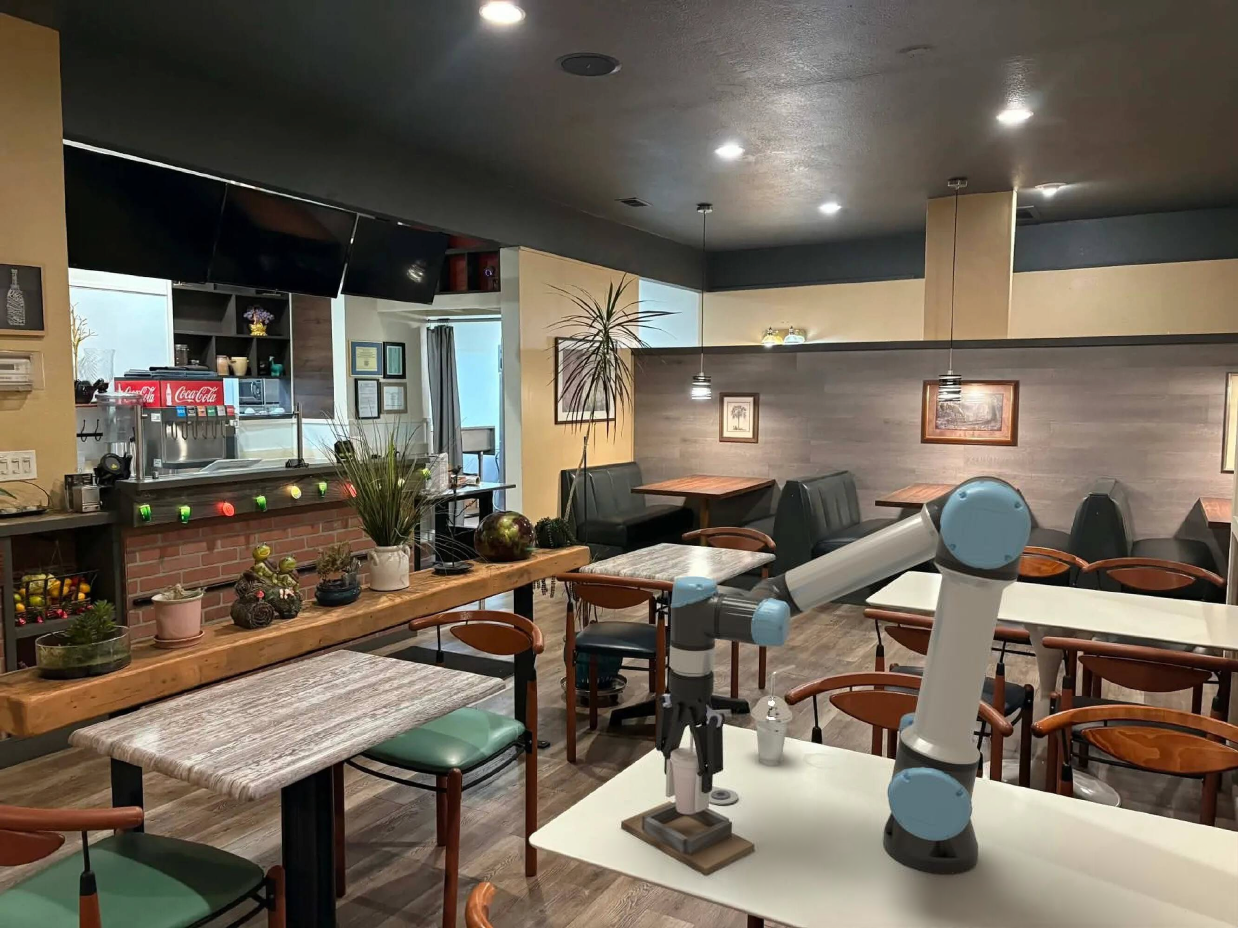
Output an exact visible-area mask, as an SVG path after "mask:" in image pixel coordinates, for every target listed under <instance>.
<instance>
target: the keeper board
mask: <svg viewBox="0 0 1238 928" xmlns="http://www.w3.org/2000/svg"><path fill="white" fill-rule="evenodd" d="M620 824H621V825H620V828H621V829H622V830H624V831H626V832H628V833H630V835H633V836H634V837H636V838H638V839H640V840H642V841H643V842H645V843H647V844H649V845H650V846H653V847H654V848H656V849H658V850H659V851H661V852H663V853H664V854H666V855H668V856H670V857H672V858H674V859H675V860H677V861H679V862H680V863H682V864H684V865H686V866H687V867H689V868H691V869H692V870H695V871H696V872H698V873H700V874H702V875H704V876H706V877H707V876H709V875H710V874H713V873H714V872H716V871H718V870H720V869H722V868H723V867H726V866H728V865H730V864H732V863H733V862H736V861H738V860H740V859H741V858H743V857H745V856H748V855H749V854H751V853H753V852H755V849H756V848H755V847H756V845H755V843H754V842H752V841H749V840H747V839H745V838H744V837H742V836H740V835H739V834H736V833H734V832H733V822H732V821H731V820H730V818H728V817H727V816H725V815H723V814H721V813H718V812H717V811H714V810H712V809H710V808H706V809H704V810H702V811H700V812H696V813H694V814H682V813H679V812H678V811H677V810H676V802H675V801H674V802H672V801H667V802H665V803H662V804H659V805H657V806H655V807H652V808H650V809H648V810H646V811H642V812H640V813H639V814H636V815H633V816H630V817H629V818H626V819H623V820H621V823H620Z"/></svg>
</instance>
